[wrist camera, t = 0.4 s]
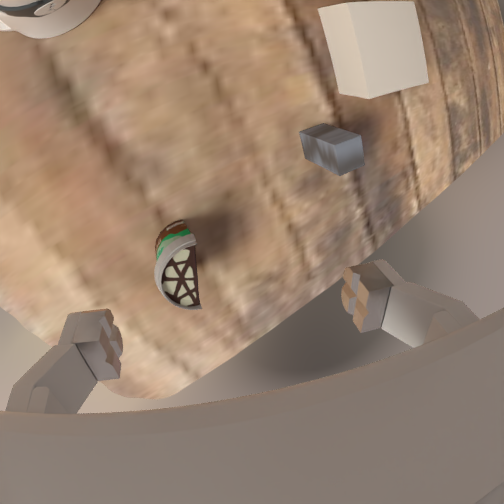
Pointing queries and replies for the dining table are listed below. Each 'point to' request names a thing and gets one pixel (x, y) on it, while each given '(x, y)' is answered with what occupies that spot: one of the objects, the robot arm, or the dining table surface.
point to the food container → (177, 266)
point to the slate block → (333, 148)
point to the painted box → (375, 47)
